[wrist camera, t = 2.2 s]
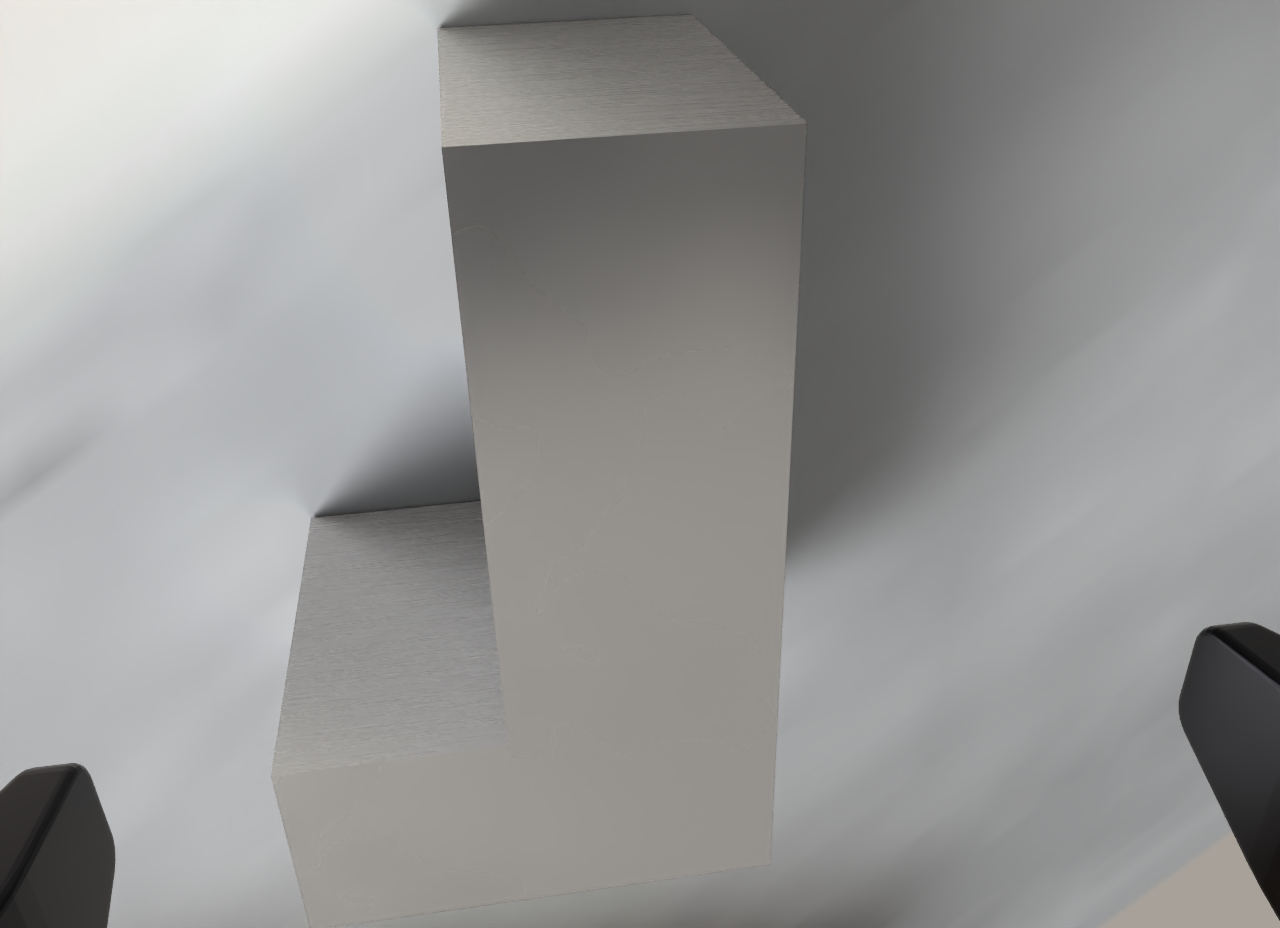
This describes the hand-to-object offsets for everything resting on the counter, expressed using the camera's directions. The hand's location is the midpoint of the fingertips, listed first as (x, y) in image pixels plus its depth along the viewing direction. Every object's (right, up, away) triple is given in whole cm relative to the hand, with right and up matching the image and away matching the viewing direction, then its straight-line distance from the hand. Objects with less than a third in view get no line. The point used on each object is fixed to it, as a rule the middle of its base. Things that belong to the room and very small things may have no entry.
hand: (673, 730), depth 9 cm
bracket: (-2, +3, +7) cm, 8 cm away
